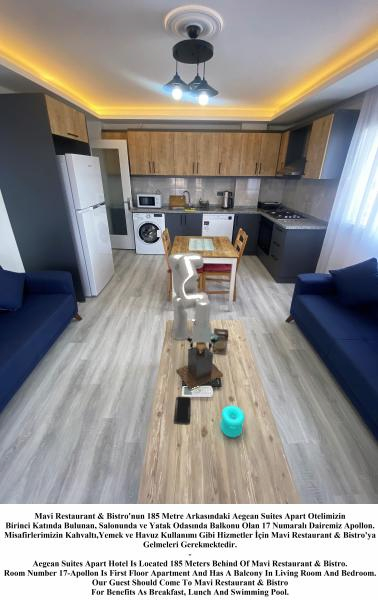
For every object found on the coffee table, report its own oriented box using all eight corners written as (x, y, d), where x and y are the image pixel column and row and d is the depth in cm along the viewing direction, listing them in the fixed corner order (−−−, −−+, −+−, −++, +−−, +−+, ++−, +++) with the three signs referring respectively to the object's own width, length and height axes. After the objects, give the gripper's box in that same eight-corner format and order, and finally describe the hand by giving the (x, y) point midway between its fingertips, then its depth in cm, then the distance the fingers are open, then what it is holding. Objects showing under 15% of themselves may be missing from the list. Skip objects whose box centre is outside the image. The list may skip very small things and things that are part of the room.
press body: (176, 371, 142) (176, 349, 135) (207, 359, 152) (209, 338, 145) (189, 390, 130) (190, 367, 123) (222, 376, 140) (225, 353, 132)
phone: (173, 422, 112) (176, 396, 126) (173, 424, 113) (176, 398, 126) (190, 423, 112) (191, 397, 125) (190, 425, 113) (191, 398, 126)
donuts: (221, 421, 103) (222, 402, 112) (219, 436, 108) (220, 417, 116) (245, 425, 102) (244, 406, 110) (242, 440, 106) (241, 420, 115)
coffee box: (212, 354, 157) (213, 333, 150) (212, 348, 163) (213, 328, 155) (226, 355, 156) (228, 335, 149) (225, 349, 162) (228, 329, 155)
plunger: (190, 369, 142) (190, 340, 132) (201, 365, 145) (203, 336, 136) (197, 378, 136) (198, 348, 126) (209, 373, 139) (211, 344, 129)
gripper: (185, 325, 121) (184, 352, 129) (219, 326, 121) (217, 353, 129) (185, 317, 128) (185, 343, 136) (218, 318, 128) (215, 344, 136)
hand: (200, 348), depth 133 cm, fingers open, 9 cm apart
